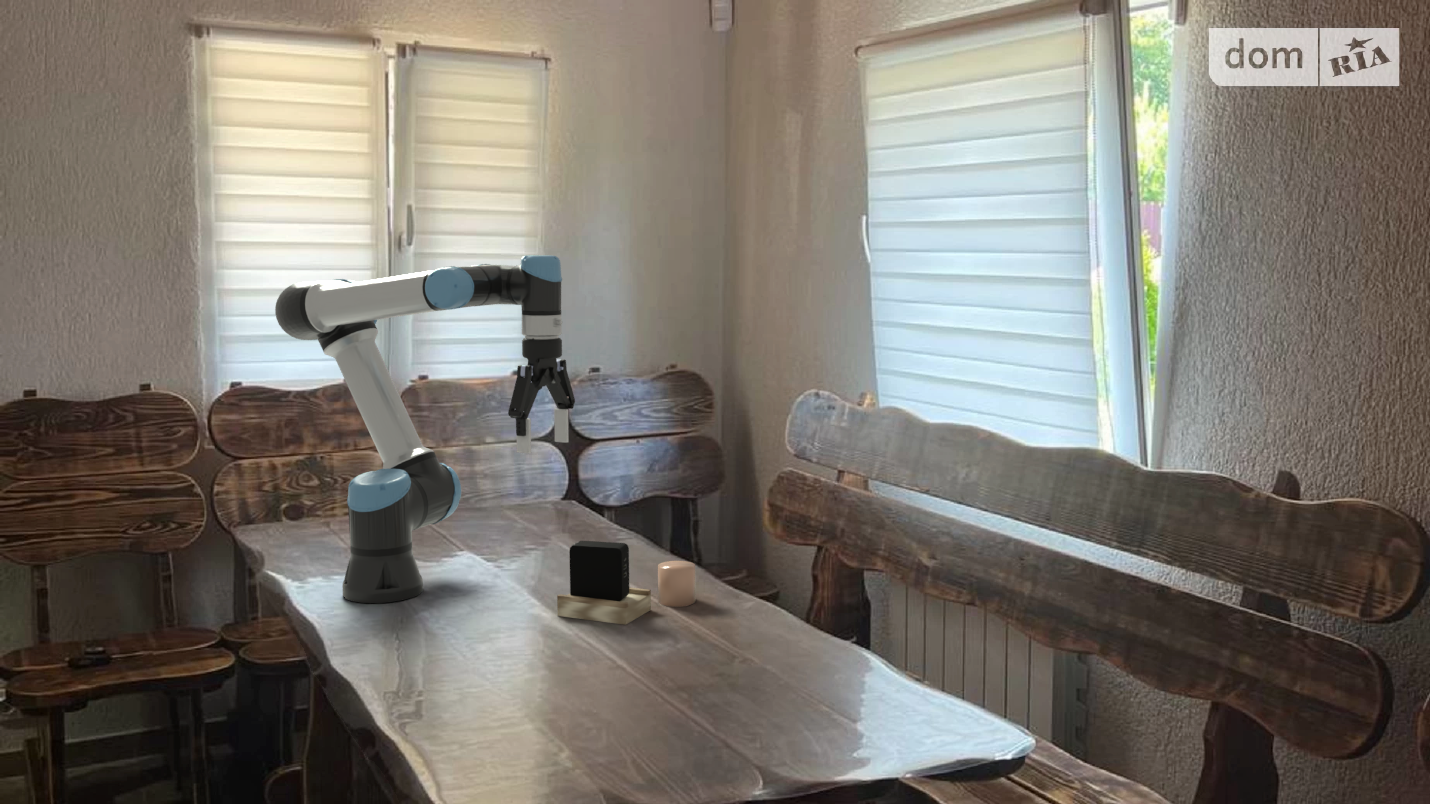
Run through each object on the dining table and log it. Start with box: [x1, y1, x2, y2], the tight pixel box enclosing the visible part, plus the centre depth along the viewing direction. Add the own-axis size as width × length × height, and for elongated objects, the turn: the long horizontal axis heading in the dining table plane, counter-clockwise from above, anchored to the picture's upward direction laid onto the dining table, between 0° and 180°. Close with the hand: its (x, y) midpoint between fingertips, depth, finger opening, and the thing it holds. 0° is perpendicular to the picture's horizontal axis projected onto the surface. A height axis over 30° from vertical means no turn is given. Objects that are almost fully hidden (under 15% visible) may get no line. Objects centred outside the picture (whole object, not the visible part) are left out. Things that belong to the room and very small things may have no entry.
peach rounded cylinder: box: [657, 560, 696, 608], centre depth 247 cm, size 7×7×7 cm
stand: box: [556, 586, 652, 626], centre depth 240 cm, size 14×10×4 cm
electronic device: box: [568, 540, 630, 601], centre depth 238 cm, size 4×10×10 cm, turn 75°
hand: (543, 447), depth 251 cm, fingers open, 13 cm apart
